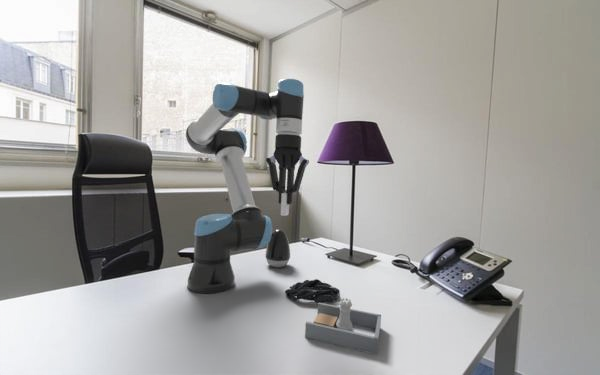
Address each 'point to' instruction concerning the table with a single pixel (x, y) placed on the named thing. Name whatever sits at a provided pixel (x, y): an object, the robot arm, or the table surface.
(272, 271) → the table surface
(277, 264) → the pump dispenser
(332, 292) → the cable
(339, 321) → the rook chess piece
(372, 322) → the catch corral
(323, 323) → the walnut tile
